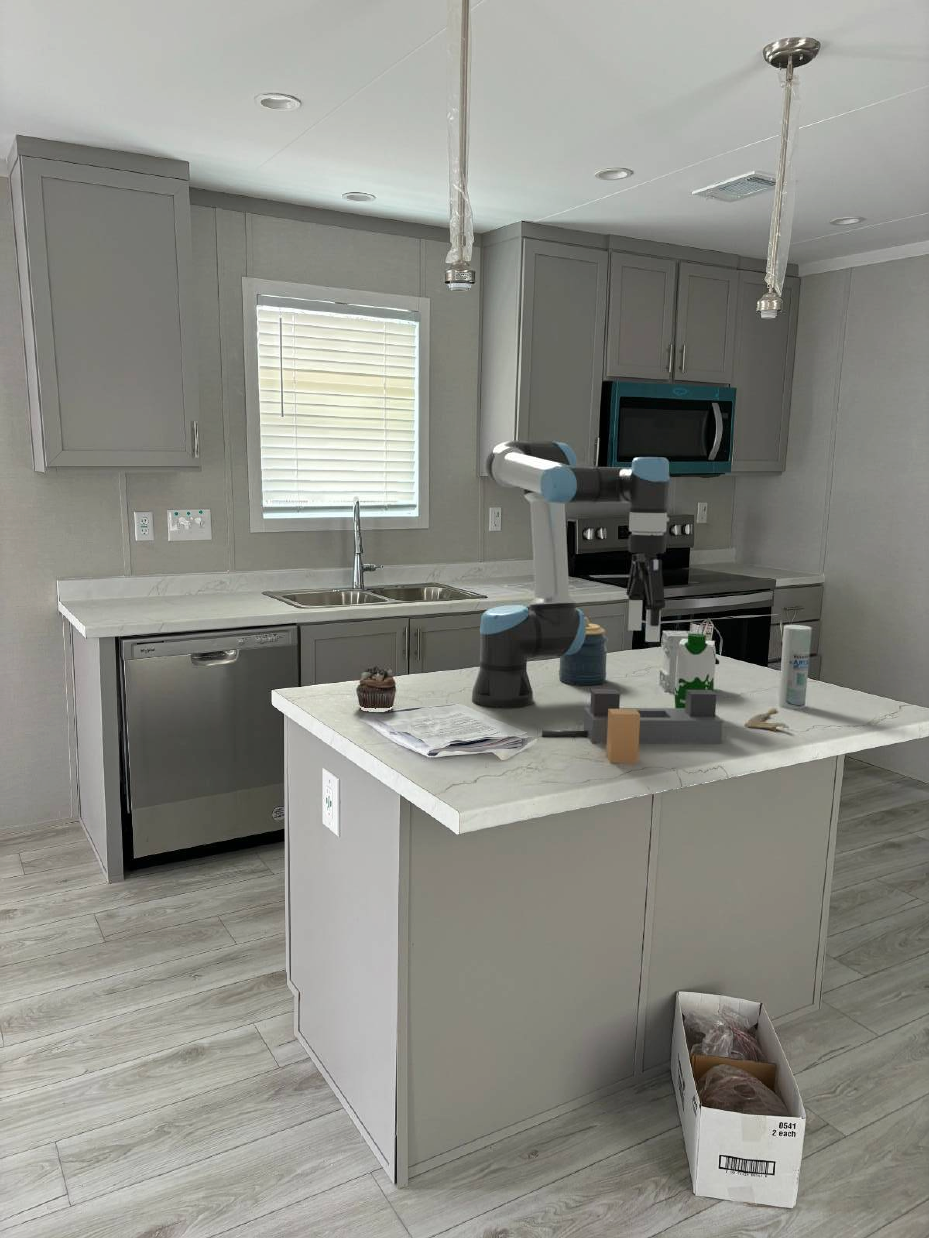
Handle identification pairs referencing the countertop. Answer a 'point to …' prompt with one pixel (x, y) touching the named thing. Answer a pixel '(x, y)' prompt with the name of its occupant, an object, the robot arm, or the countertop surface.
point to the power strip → (655, 719)
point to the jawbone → (759, 722)
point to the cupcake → (376, 689)
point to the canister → (586, 659)
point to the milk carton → (694, 666)
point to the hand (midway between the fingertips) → (643, 635)
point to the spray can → (794, 666)
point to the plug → (623, 735)
